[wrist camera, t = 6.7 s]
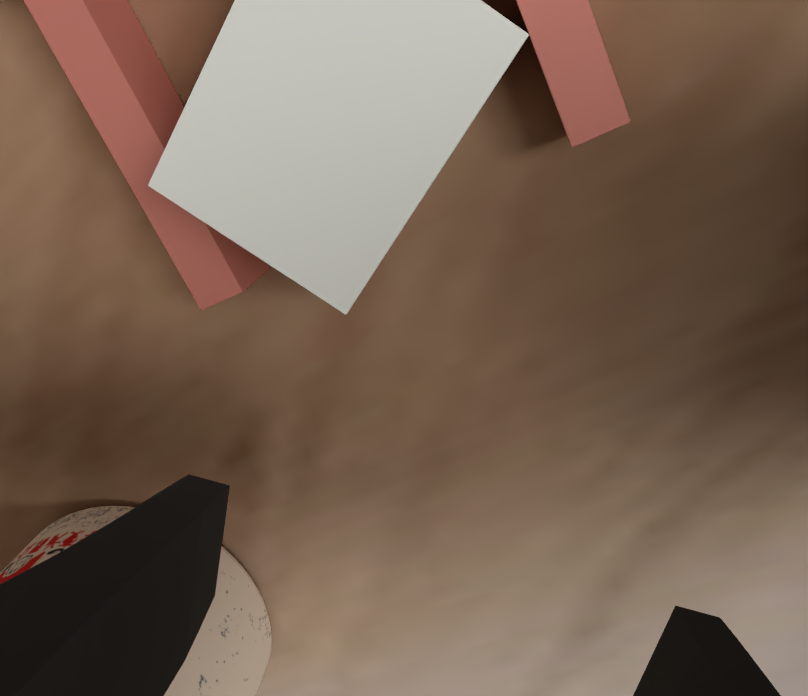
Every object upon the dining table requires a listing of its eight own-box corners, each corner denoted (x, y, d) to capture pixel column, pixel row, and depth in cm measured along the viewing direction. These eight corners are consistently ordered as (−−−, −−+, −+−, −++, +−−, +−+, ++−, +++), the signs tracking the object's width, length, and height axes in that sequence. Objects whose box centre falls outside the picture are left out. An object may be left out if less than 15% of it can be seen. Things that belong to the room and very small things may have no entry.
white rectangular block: (527, 36, 16) (529, 34, 12) (385, 254, 19) (345, 314, 14) (355, -86, 16) (296, -132, 12) (233, 153, 18) (147, 185, 14)
